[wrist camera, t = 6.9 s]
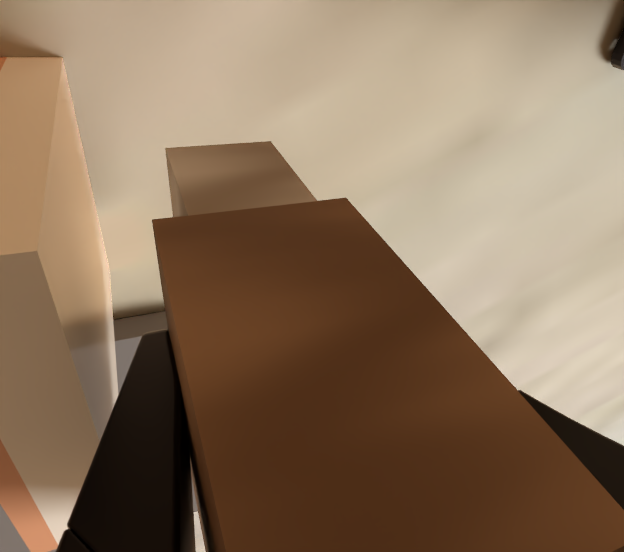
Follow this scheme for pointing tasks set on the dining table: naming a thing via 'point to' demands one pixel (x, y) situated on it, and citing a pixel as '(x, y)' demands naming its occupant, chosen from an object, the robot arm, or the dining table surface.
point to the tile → (49, 304)
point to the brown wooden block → (344, 385)
